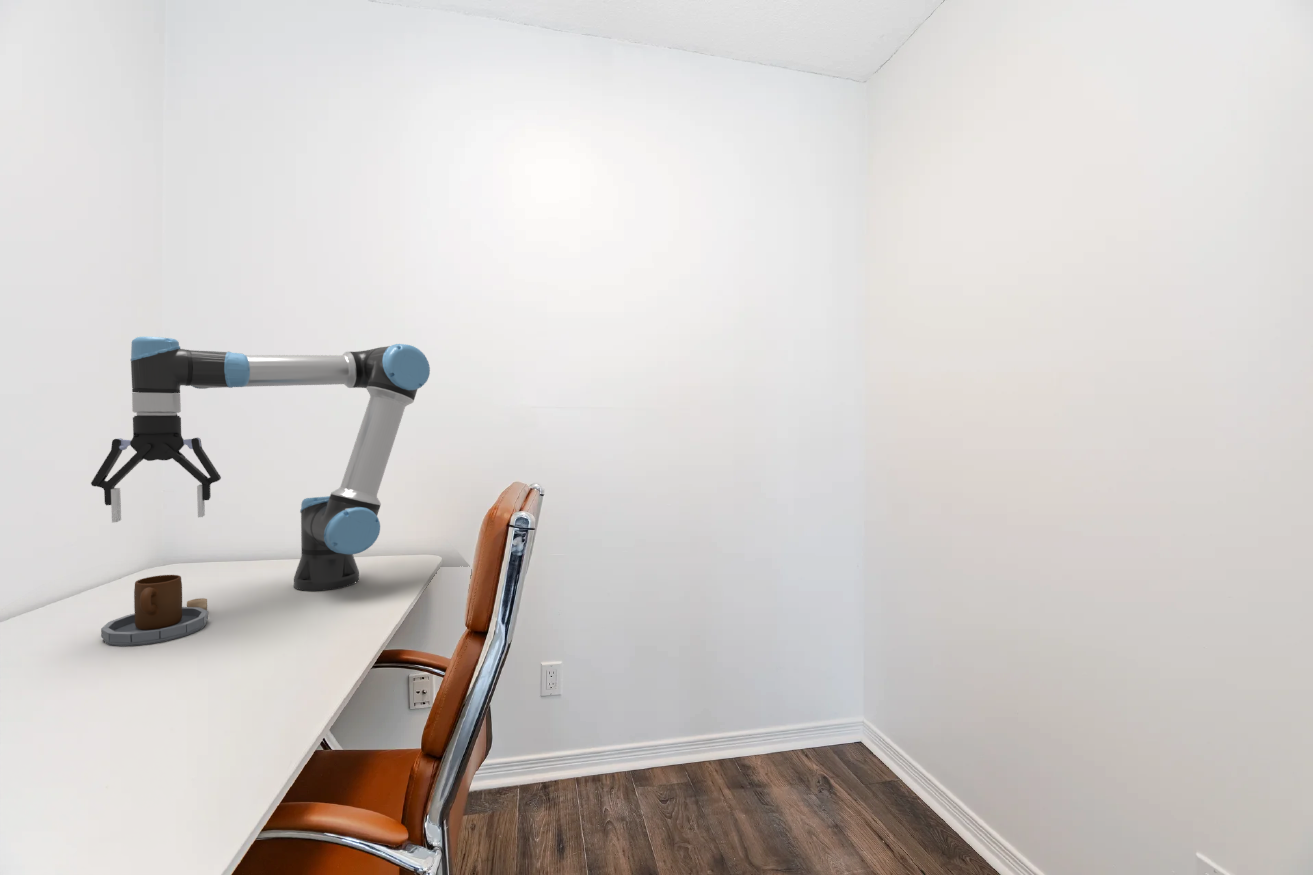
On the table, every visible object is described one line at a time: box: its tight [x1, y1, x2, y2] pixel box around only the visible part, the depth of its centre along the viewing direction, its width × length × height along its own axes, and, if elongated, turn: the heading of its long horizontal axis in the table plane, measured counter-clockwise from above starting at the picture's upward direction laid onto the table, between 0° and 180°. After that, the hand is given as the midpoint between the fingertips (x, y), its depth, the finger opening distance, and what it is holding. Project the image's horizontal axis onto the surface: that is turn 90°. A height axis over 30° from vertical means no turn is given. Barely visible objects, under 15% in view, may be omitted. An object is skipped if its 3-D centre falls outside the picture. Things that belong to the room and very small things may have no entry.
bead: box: [186, 597, 208, 611], centre depth 134 cm, size 4×4×3 cm
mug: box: [133, 574, 183, 630], centre depth 122 cm, size 12×8×9 cm, turn 24°
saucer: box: [100, 606, 209, 647], centre depth 123 cm, size 16×16×2 cm
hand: (160, 518), depth 123 cm, fingers open, 13 cm apart
